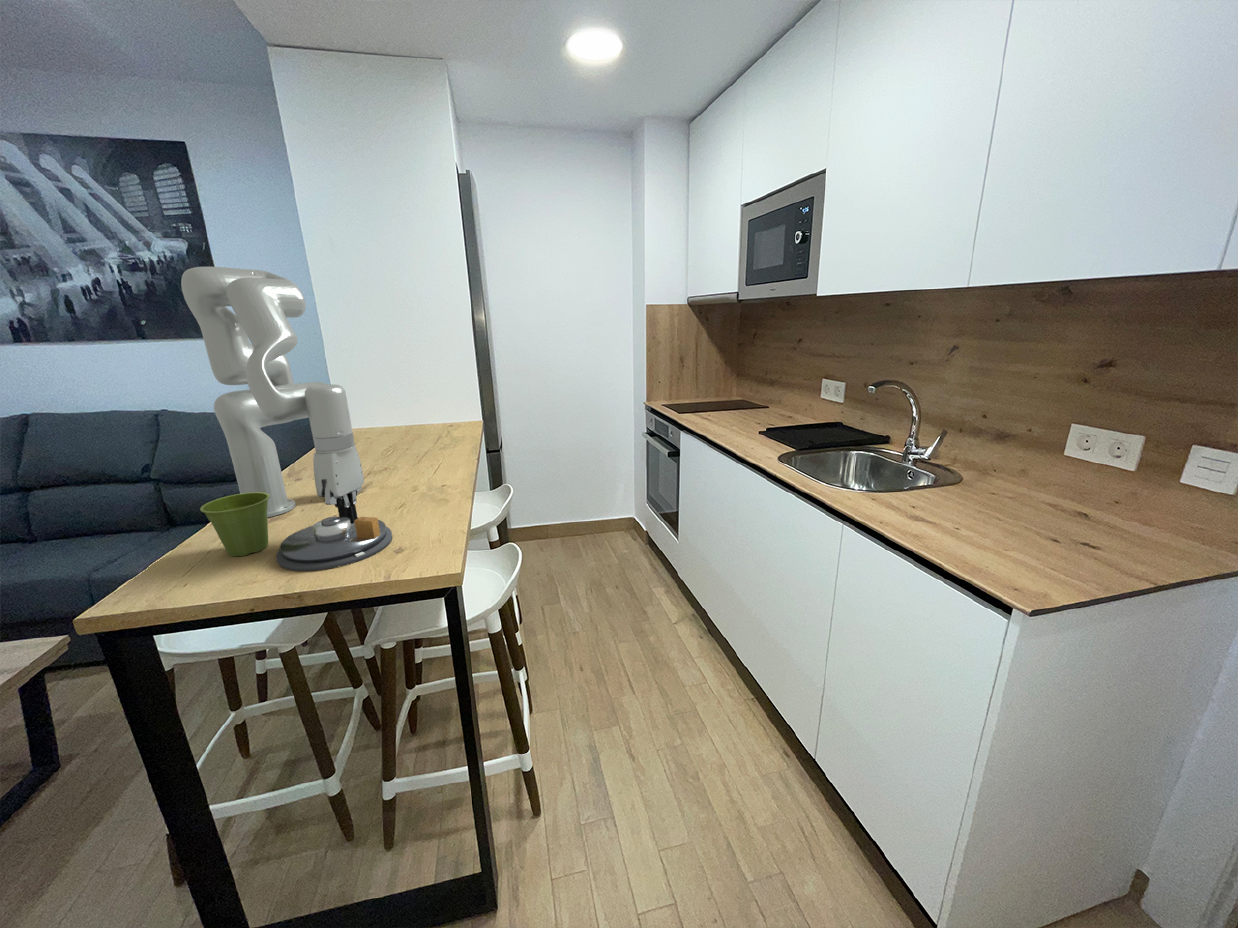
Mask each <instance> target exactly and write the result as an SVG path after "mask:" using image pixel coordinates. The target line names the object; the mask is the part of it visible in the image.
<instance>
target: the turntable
mask: <svg viewBox="0 0 1238 928" xmlns="http://www.w3.org/2000/svg"><path fill="white" fill-rule="evenodd" d="M312 526H313V525H310V526H307V527H305V528H302V529H300V530H297V531H296V532H294V533H292V534H290V535H289V536H287V537H285V538H284V539H283V540H282V542H281V543H280V545H279V549H280V550H281V554H282V557H283V558H285V559H286V560H289V561H292V562H300V563H314V562H324V561H330V560H336V559H340V558H344V557H348V556H351V555H354V554H357V553H360V552H363V551H365V550H367V549H369V548H371V547H373V546H375V545H377V544H378V543H380V542H381V541H382V540H383V539H384V538H385V536H386V534H387V531H386V527H387V525H386V523H385V522H384V521H382V520H380V519H378V517H374V516H373V517H371V516H360V517H358V519H356V520H354V523H353V524H351V529H352V534H351V535H350V536H349V537H347V538H345V539H343V540H339V541H336V542H330V543H319V542H316V541H315V537H314V532H313V527H312Z"/></svg>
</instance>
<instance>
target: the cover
mask: <svg viewBox="0 0 1238 928" xmlns="http://www.w3.org/2000/svg"><path fill="white" fill-rule="evenodd" d="M311 526H312V527H313V532H314V537H315V541H316V542H319V543H330V542H336V541H339V540H343V539H345V538H347V537H349V536H350V535H351V534H352V529H351V523H350V519H349V518H347V517H339V516H337V515H336V516H329V517H325V518H323V519H322V520H319V521H316V523H314V524H313V525H311Z"/></svg>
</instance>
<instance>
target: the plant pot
mask: <svg viewBox="0 0 1238 928" xmlns="http://www.w3.org/2000/svg"><path fill="white" fill-rule="evenodd" d="M269 497H270V495H269V494H268V493H264V492H250V493H241V494H240V493H236V494H232V495H226V496H224V497H223V496H222V497H219V498H216V499H214V500H211V501H209V502H206V503H204V504H203V505H201V506H200V508H199V509H200V512H201V513H204V514H205V515H206V517H207V519H208V521H209V522H210V523H211V525H212V526H213V528H214V530H215V532H216V534H217V535H218V538H219V539H220V541H221V543H222V545H223V547H224V549H225V551H226V553H227V554H228V555H229V556H230V557H231V556H232V557H245V556H248V555H249V554H251V553H258V552H261V551H262V550H264V549H266V548H267V547H268V546H269V527H268V517H267V508H268V499H269Z"/></svg>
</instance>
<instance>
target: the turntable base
mask: <svg viewBox="0 0 1238 928" xmlns="http://www.w3.org/2000/svg"><path fill="white" fill-rule="evenodd" d="M386 531H387V534H386V536H385V538H384V539H383V540H382V541H381V542H380V543H378V544H377V545H375V546H373V547H371V548H369V549H367V550H365V551H363V552H360V553H357V554H354V555H351V556H348V557H344V558H340V559H336V560H330V561H324V562H314V563H300V562H292V561H289V560H286V559H285V558H283V557H282V554H281V550H280V548H279V549H278V550H277V552H276V554H275V557H276V563H277V562H278V563H277V565H278V564H279V565H278V566H279V567H281V568H283V569H286V570H287V571H288V570H290V571H294V572H296V571H297V572H314V571H323V570H331V569H335V567H336V568H339V567H338V566H341V567H344V566H343V565H345V566H348V565H351V563H352V564H355V563H358V562H362V561H363V560H365V559H368V558H371V557H372V556H375V555H377V554H378V553H380V552H381V551H383V550H385V549H386V548H387V547H389V545H390V544H391V543H392V540H393V533H392V529H391V528H389V526H386ZM354 562H355V563H354ZM347 564H348V565H347Z"/></svg>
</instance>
